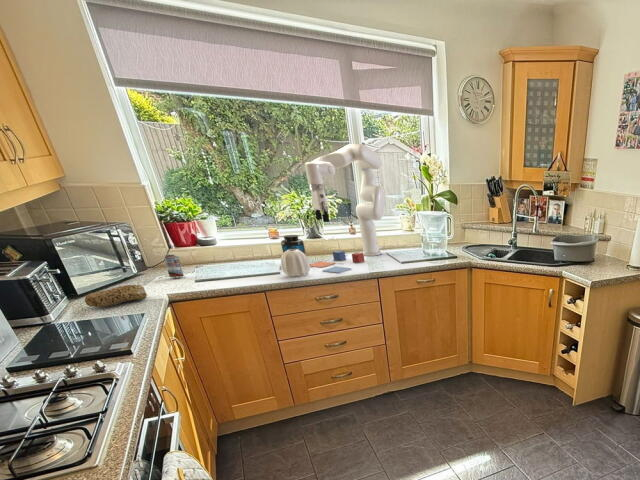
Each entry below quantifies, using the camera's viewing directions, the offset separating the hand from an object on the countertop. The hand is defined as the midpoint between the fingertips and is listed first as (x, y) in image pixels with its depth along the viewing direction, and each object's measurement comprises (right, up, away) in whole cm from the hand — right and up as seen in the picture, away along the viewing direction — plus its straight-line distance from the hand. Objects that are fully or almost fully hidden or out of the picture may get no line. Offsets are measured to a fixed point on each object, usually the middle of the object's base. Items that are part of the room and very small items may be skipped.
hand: (322, 220), depth 235 cm
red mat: (-7, -22, +12) cm, 26 cm away
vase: (-9, -34, -9) cm, 36 cm away
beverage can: (-68, -38, -19) cm, 80 cm away
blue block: (-1, -15, +25) cm, 29 cm away
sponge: (-62, -59, -56) cm, 102 cm away
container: (-21, -21, +13) cm, 33 cm away
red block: (+12, -17, +22) cm, 30 cm away
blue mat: (+7, -28, +2) cm, 29 cm away
